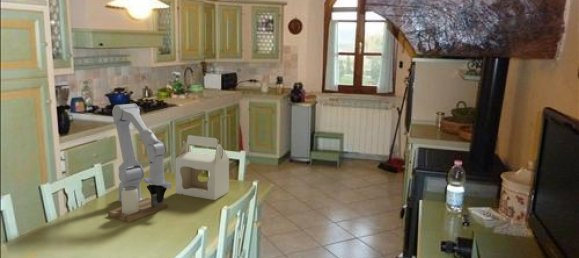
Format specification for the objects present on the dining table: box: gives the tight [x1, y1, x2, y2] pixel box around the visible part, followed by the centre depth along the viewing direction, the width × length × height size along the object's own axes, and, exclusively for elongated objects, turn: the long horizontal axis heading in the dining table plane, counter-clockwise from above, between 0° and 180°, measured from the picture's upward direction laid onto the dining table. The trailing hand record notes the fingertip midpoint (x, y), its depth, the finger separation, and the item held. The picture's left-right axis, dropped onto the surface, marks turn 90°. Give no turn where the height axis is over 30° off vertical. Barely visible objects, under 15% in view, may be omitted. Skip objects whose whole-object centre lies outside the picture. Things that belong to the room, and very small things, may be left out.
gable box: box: [175, 134, 230, 201], centre depth 215 cm, size 22×13×28 cm, turn 68°
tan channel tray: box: [107, 194, 168, 223], centre depth 190 cm, size 12×21×7 cm, turn 150°
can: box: [121, 186, 139, 215], centre depth 185 cm, size 6×6×12 cm
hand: (157, 201), depth 192 cm, fingers closed on tan channel tray, 2 cm apart
